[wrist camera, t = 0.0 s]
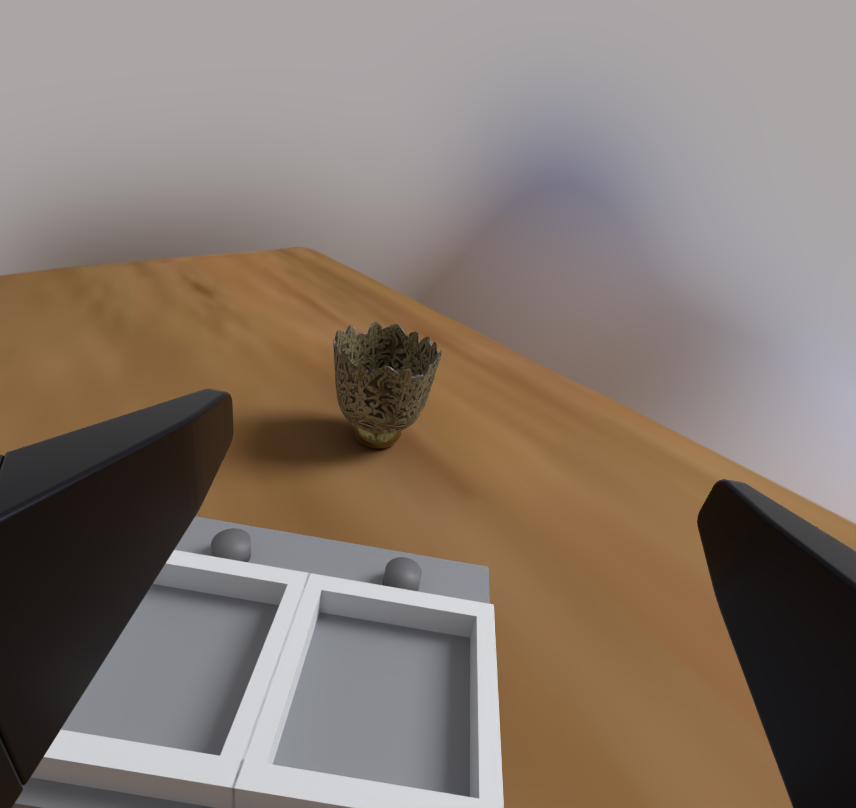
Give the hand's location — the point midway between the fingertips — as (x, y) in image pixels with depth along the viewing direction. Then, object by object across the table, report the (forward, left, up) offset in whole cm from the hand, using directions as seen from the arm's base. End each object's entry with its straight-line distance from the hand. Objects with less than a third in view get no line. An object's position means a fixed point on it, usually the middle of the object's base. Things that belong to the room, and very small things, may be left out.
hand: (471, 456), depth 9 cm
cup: (+25, +4, -17) cm, 30 cm away
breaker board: (+6, +9, -16) cm, 20 cm away
